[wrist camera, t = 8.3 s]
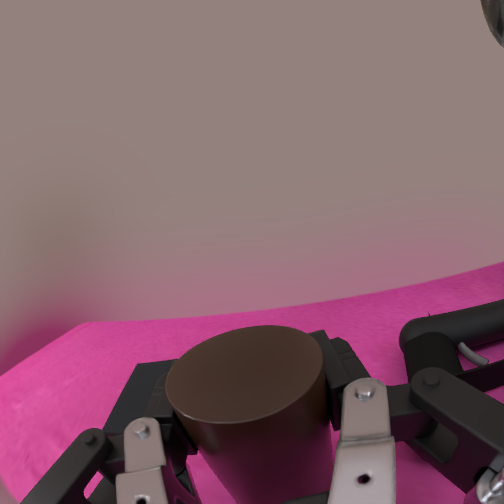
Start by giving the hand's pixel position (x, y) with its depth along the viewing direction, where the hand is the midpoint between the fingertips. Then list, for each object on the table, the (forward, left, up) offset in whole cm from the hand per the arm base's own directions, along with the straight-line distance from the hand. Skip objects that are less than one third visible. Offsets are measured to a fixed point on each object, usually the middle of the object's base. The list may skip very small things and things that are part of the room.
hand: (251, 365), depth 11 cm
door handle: (-17, +4, -7) cm, 19 cm away
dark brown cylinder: (0, +3, -7) cm, 7 cm away
